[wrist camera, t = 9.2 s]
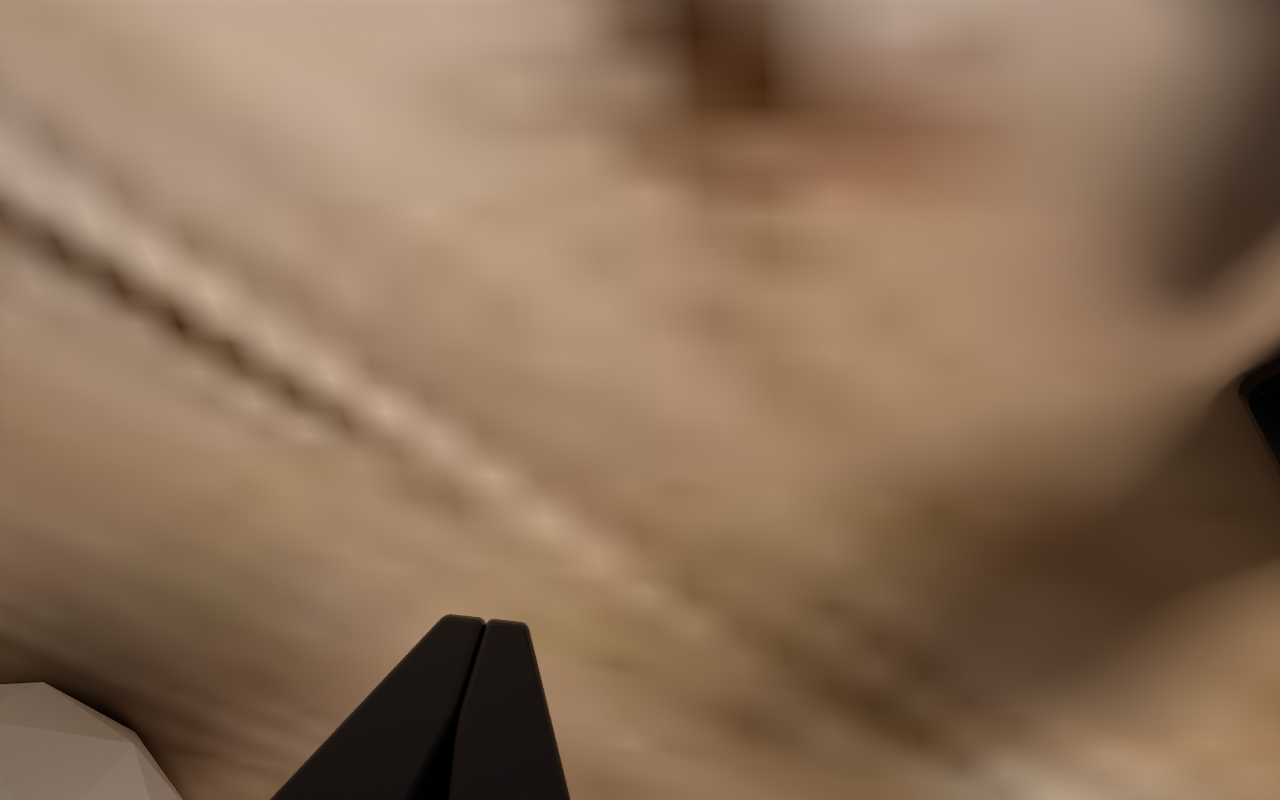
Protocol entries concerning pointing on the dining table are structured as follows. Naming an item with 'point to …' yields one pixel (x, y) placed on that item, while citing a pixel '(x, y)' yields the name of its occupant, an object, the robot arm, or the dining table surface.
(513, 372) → the dining table surface
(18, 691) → the geodesic sphere
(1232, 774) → the dining table surface
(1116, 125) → the dining table surface
